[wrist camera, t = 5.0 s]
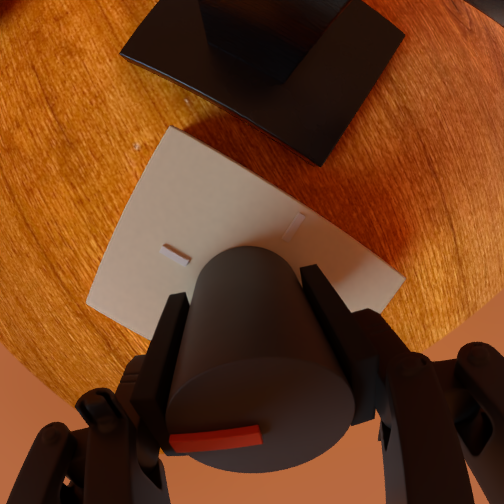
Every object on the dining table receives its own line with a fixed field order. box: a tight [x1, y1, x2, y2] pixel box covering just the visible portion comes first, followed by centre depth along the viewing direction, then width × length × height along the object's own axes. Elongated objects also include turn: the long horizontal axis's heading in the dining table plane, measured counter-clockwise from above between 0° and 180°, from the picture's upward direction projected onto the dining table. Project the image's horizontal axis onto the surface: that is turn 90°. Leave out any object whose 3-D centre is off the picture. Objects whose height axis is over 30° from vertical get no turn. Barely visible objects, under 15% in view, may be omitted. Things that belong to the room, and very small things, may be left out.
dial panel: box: [86, 125, 406, 340], centre depth 16 cm, size 14×10×3 cm
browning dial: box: [165, 246, 355, 473], centre depth 11 cm, size 5×5×8 cm
